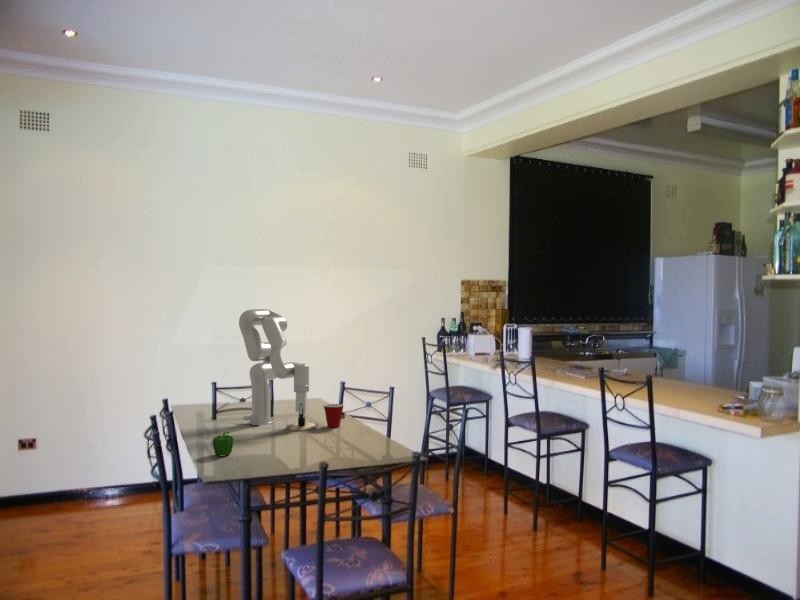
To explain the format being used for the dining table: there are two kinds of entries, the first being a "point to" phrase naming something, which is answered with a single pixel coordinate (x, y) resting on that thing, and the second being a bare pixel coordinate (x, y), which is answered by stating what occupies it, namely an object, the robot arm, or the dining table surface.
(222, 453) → the bell pepper
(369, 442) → the dining table surface
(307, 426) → the lid
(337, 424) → the plastic cup
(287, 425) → the mat
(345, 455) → the dining table surface
